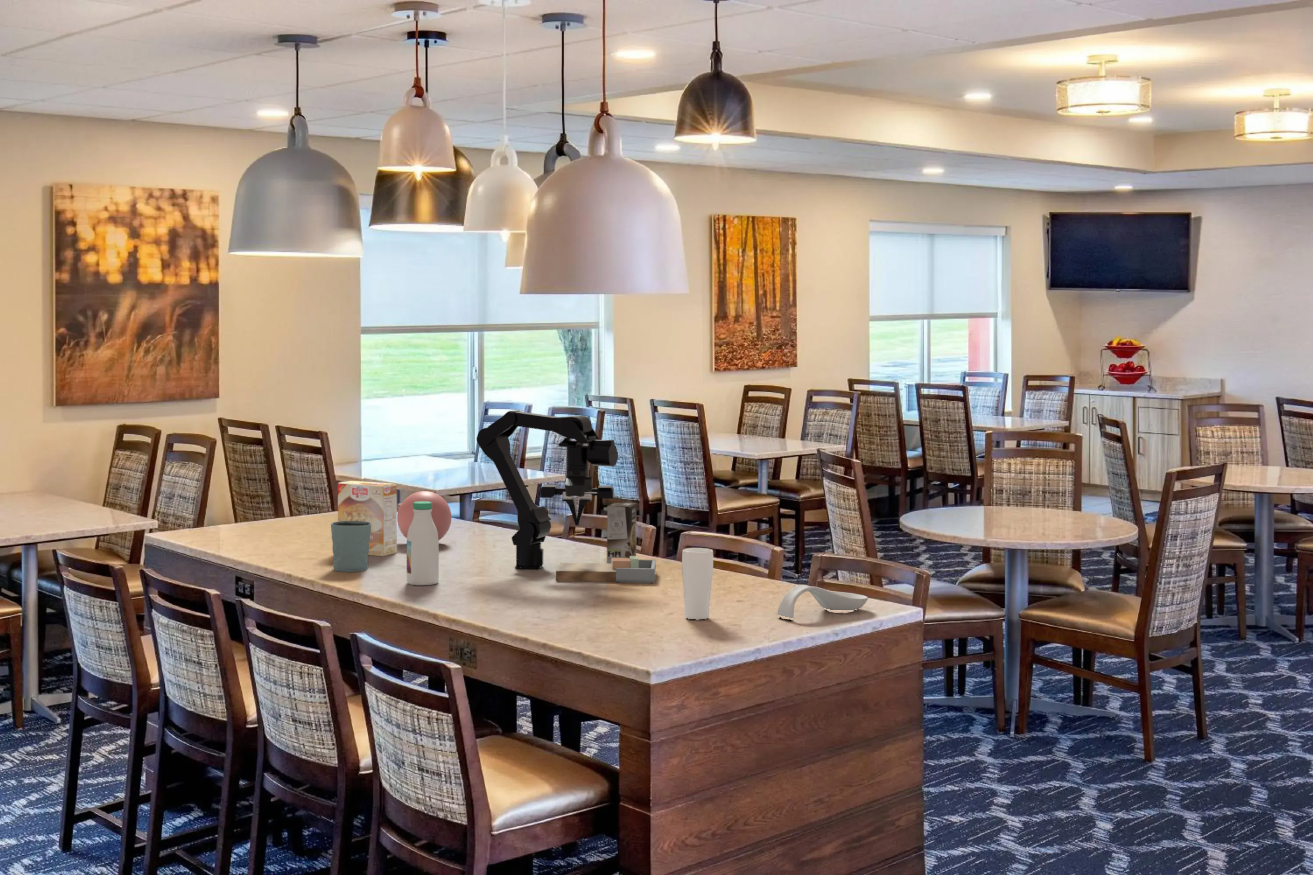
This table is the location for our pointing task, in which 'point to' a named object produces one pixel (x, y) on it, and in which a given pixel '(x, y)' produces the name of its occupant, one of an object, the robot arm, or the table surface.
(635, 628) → the table surface
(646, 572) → the tray
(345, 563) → the teal cup
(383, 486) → the coffeecake box
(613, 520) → the coffee box
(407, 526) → the balloon
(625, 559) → the terracotta tile
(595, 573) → the walnut board
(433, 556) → the milk bottle
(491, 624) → the table surface
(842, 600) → the spoon rest
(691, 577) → the drinking glass
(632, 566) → the sage tile
